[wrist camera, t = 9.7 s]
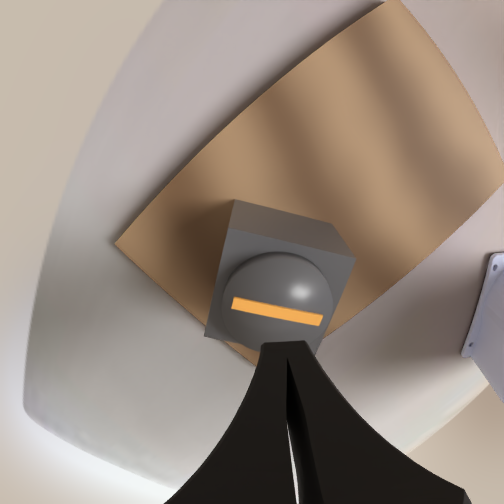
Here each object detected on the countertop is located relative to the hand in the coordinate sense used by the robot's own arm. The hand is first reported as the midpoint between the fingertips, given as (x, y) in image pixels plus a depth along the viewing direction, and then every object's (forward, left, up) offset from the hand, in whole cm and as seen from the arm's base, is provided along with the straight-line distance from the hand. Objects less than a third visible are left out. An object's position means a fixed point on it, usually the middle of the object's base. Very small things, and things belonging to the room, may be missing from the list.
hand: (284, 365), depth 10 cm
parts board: (+3, -3, -10) cm, 11 cm away
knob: (0, 0, -8) cm, 8 cm away
